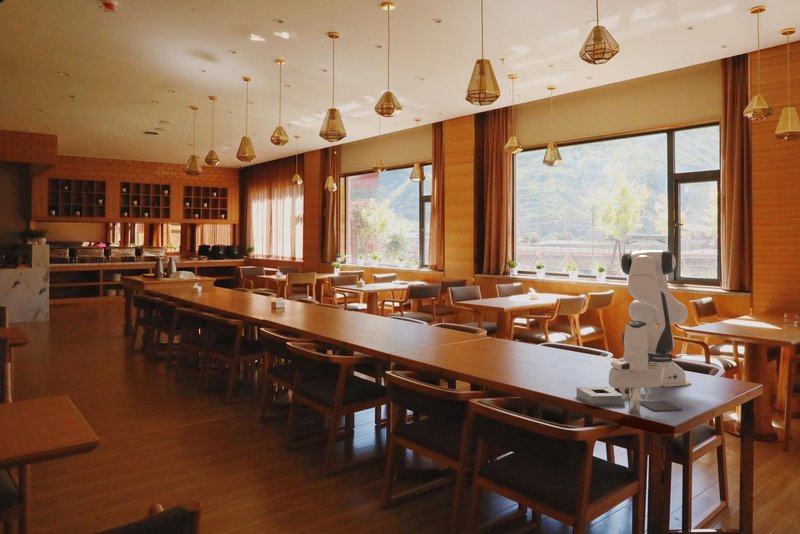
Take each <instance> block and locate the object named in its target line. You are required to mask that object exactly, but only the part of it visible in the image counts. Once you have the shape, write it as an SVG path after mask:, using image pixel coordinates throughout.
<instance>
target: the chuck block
mask: <svg viewBox="0 0 800 534" xmlns="http://www.w3.org/2000/svg"><path fill="white" fill-rule="evenodd" d="M576 398H578V399H579V400H581V401H583V402H584V403H586V404H588V405H589V406H591V407H605V406H607V407H612V406H613V407H614V405H618V406H625V404H626V403H625V401H626V399H622V394H621V393H619V392H617V391H615V390H614V388H612V387H610V386H583V387H582V386H579V387H576ZM610 405H611V406H610Z"/></svg>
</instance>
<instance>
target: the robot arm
mask: <svg viewBox="0 0 800 534" xmlns="http://www.w3.org/2000/svg"><path fill="white" fill-rule="evenodd" d="M676 263H677V261H676V257H675V255H674V253H673V252H672V251H670V250H666V249H663V250H655V249H650V250H649V249H648V250H638V251H637V250H636V251H628V252H625V253H624V254H623V255H622V256H621V259H620V267H621V271H622V273H624V274H625V275H627V276H628V280H627V290H628V292H629V294H630V296H631V297H632V298H633V301H631V302H630V303H629V306H628V309H627V311H628V315H629V317H630V318H631V320H630V321H627V322H626V324H625V328H624V331H623V332H622V335H621V336H622V337H621V338H622V339H621V340H622V341H621V345H622V347H624V351H623V356H622V357H621V358H618V359H615V360H612V361H610V366H611V368H610V370H609V374H608V385H609V387H610V388H611V389H614V388H619V390H620V392H621V393H622V399H625V400H629V395H626V394H625V392H624V391H625V389H626V388H641V389H644V391H643V393H641V395H640V398H642V399H643V400H647V399H648V395H649V393H650V392H651V391H652V390H651V388H660V387H667V388H668V387H670V388H671V387H679V386H680V387H681V386H690V385H692V383H691V381H690V380H688V379H687V378H686V377H687V376H686V374H685V373H686V372H685V370H684V369H683V368H682V367H680V365H678V364H677V363H676V362H675V361H674V360H677V359H678V355H677V354H672V353H671V352H673V351H674V349H675V338H674V334H673V332H672V331H673V330H672V328H671V327H672V325H682V324H683V323H685V322H686V320H687V319H688V316H689V311H688V308H687V306H686V305H685V304H684V303H683V302H681V301H679V300H677V298H675V296H674V295H673V294H672V293H671V291H670V289H669V285H668V284H669V283H668V278H667V275H669V274H672V273H673V272H674V271H675V268H676ZM657 324H658V325H659V327H658V326H657Z"/></svg>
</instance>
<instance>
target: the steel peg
mask: <svg viewBox="0 0 800 534" xmlns="http://www.w3.org/2000/svg"><path fill="white" fill-rule="evenodd" d="M641 389H642V388H629V395H628V412H629V413H630V414H635V415H638V414H640V413H641V405H640V401H641V395H642V393H641Z"/></svg>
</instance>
